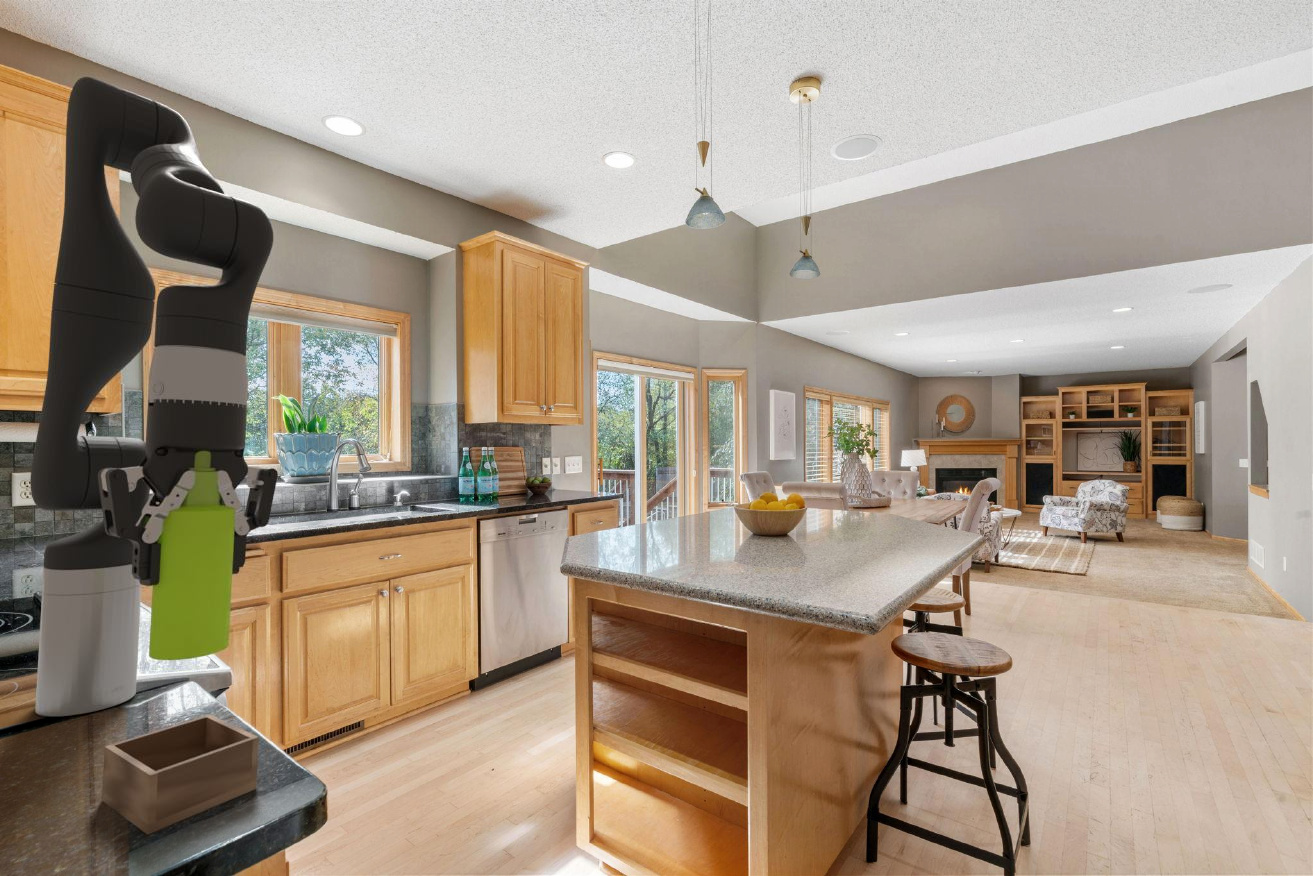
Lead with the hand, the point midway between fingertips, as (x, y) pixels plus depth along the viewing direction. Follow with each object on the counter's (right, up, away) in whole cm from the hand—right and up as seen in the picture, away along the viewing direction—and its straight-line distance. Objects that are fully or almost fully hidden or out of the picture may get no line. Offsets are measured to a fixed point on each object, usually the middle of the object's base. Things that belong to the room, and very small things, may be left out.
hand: (190, 578), depth 57 cm
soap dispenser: (0, -7, 0) cm, 7 cm away
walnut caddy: (0, -20, -1) cm, 20 cm away
